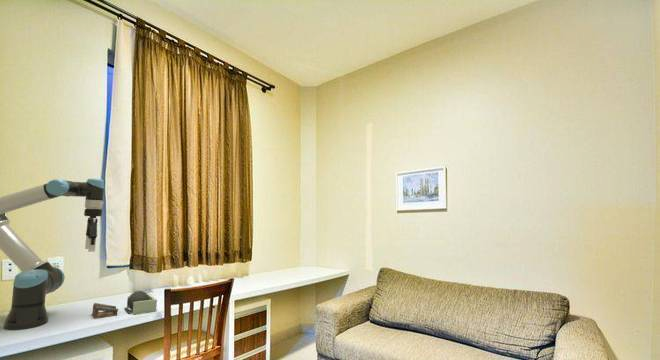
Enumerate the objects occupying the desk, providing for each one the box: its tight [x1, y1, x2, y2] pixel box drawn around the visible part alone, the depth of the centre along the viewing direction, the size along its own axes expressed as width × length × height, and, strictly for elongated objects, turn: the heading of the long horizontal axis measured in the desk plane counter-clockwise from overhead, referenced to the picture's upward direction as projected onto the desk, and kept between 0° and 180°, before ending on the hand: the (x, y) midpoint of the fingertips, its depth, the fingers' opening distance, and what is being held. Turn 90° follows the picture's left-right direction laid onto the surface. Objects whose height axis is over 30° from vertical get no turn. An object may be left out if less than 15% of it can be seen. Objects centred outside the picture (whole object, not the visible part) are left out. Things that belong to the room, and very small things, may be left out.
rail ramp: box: [91, 302, 119, 319], centre depth 176 cm, size 10×9×6 cm
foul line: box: [124, 306, 132, 315], centre depth 182 cm, size 1×11×1 cm, turn 40°
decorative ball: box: [127, 290, 149, 311], centre depth 185 cm, size 10×10×10 cm
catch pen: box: [126, 293, 158, 316], centre depth 187 cm, size 11×15×6 cm
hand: (89, 250), depth 179 cm, fingers open, 13 cm apart
